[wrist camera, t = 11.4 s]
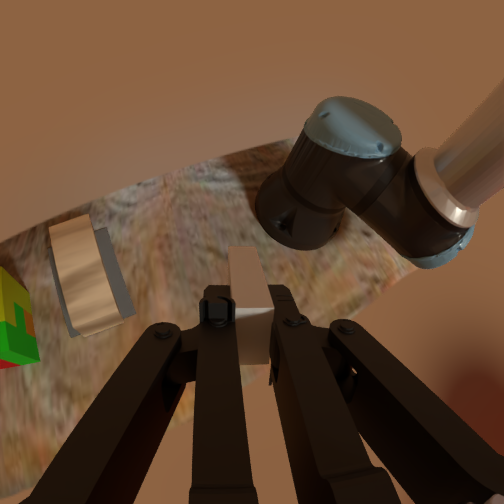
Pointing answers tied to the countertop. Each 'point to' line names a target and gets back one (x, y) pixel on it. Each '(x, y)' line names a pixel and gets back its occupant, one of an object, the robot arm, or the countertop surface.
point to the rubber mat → (113, 275)
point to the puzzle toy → (15, 324)
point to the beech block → (83, 277)
